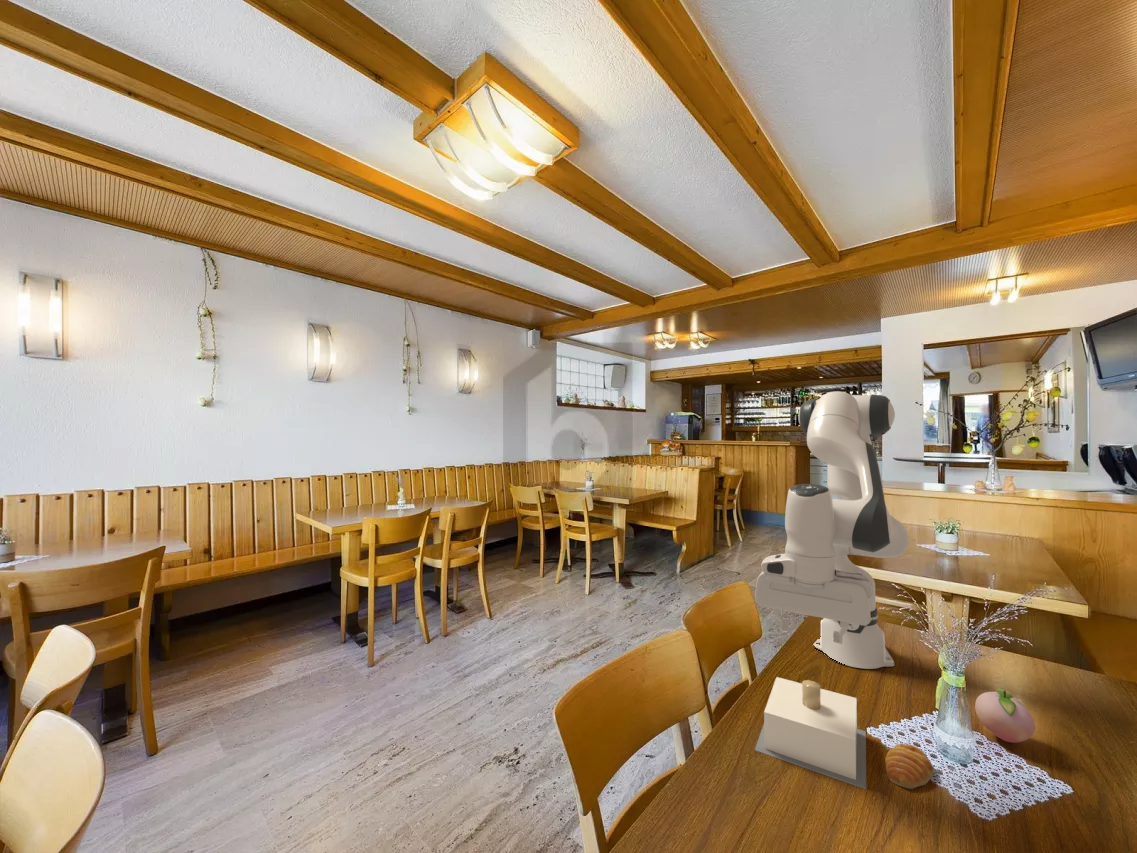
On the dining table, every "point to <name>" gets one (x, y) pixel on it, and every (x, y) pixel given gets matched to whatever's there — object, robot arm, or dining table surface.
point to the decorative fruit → (1004, 716)
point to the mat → (860, 769)
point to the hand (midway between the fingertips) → (810, 636)
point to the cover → (812, 726)
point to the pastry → (908, 766)
